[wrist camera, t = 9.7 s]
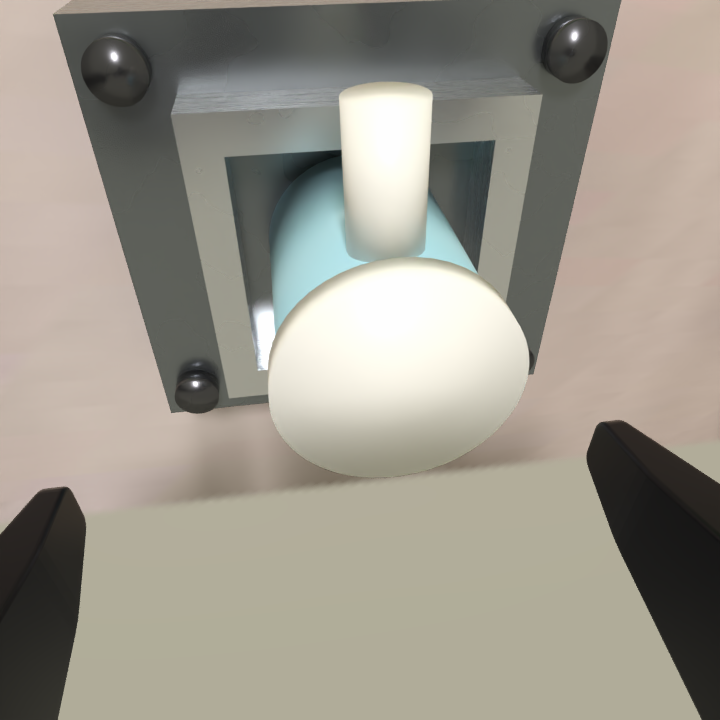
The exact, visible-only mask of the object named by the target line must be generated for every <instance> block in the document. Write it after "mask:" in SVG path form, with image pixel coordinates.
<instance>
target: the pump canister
mask: <svg viewBox="0 0 720 720" xmlns="http://www.w3.org/2000/svg"><path fill="white" fill-rule="evenodd" d="M432 100H433V94H432V92H431V91H430V90H429V89H427V88H425V87H423V86H420V85H416V84H411V83H404V82H373V83H366V84H360V85H356V86H353V87H350V88H347V89H345V90H344V91H342V92H341V93H340V95H339V108H340V129H341V149H342V156H338V157H334V158H331V159H328V160H325V161H323V162H321V163H318V164H316V165H315V166H313V167H311V168H310V169H308V170H306V171H305V172H304V173H303V174H301V175H300V176H299V177H297V178H296V179H295V180H294V181H293V182H292V183H291V184H290V185H289V187H288V188H287V189H286V191H285V192H284V193H283V195H282V196H281V198H280V200H279V201H278V203H277V205H276V207H275V210H274V213H273V215H272V219H271V223H270V230H269V246H270V263H271V279H272V295H273V311H274V328H275V337H274V340H273V342H272V345H271V349H270V353H269V357H268V368H267V373H268V396H269V408H270V412H271V416H272V419H273V422H274V424H275V426H276V428H277V430H278V432H279V434H280V435H281V437H282V438H283V439H284V441H285V442H286V443H287V444H288V445H289V446H290V447H291V448H292V449H293V450H294V451H295V452H296V453H298V454H299V455H300V456H302V457H303V458H304V459H306V460H308V461H309V462H311V463H313V464H315V465H317V466H319V467H322V468H324V469H326V470H329V471H332V472H336V473H339V474H344V475H349V476H355V477H366V478H387V477H398V476H404V475H410V474H415V473H419V472H423V471H426V470H430V469H433V468H435V467H438V466H441V465H444V464H446V463H448V462H450V461H453V460H455V459H457V458H459V457H461V456H462V455H464V454H466V453H468V452H470V451H471V450H472V449H474V448H475V447H477V446H478V445H480V444H481V443H483V442H484V441H485V440H486V439H487V438H489V437H490V436H491V435H492V434H493V433H494V432H495V431H496V430H497V429H498V428H499V427H500V426H501V425H502V424H503V423H504V422H505V421H506V419H507V418H508V417H509V416H510V414H511V413H512V412H513V410H514V408H515V407H516V405H517V403H518V402H519V400H520V398H521V395H522V393H523V391H524V388H525V385H526V381H527V378H528V371H529V350H528V346H527V342H526V338H525V336H524V334H523V331H522V329H521V327H520V325H519V324H518V322H517V320H516V319H515V317H514V315H513V314H512V312H511V310H510V309H509V307H508V305H507V304H506V302H505V301H504V299H503V298H502V296H501V295H500V293H499V292H498V291H497V290H496V289H495V288H494V287H493V286H492V285H491V284H490V283H489V282H488V281H486V280H485V279H483V278H482V277H481V276H479V275H478V273H477V271H476V269H475V268H474V266H473V264H472V262H471V261H470V259H469V257H468V255H467V254H466V252H465V250H464V248H463V247H462V245H461V243H460V241H459V240H458V238H457V236H456V234H455V233H454V231H453V229H452V227H451V226H450V224H449V222H448V220H447V219H446V217H445V215H444V213H443V212H442V210H441V208H440V206H439V205H438V203H437V201H436V199H435V198H434V196H433V194H432V192H431V191H430V189H429V188H428V182H429V162H430V141H431V120H432Z"/></svg>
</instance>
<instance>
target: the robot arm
mask: <svg viewBox="0 0 720 720" xmlns="http://www.w3.org/2000/svg"><path fill="white" fill-rule="evenodd" d="M587 465H588V467H589V471H590V473H591V476H592V479H593V482H594V484H595V487H596V490H597V493H598V496H599V498H600V501H601V504H602V507H603V510H604V512H605V515H606V518H607V521H608V523H609V526H610V529H611V532H612V534H613V537H614V539H615V542H616V544H617V546H618V548H619V551H620V553H621V555H622V557H623V559H624V561H625V563H626V565H627V567H628V569H629V571H630V573H631V575H632V577H633V579H634V582H635V583H636V586H637V588H638V590H639V592H640V594H641V596H642V598H643V600H644V602H645V604H646V606H647V608H648V610H649V612H650V614H651V616H652V619H653V621H654V622H655V625H656V627H657V629H658V631H659V633H660V635H661V637H662V639H663V641H664V643H665V645H666V647H667V649H668V651H669V653H670V655H671V657H672V660H673V662H674V664H675V666H676V668H677V670H678V672H679V674H680V676H681V678H682V680H683V682H684V684H685V686H686V688H687V690H688V692H689V694H690V696H691V699H692V701H693V703H694V705H695V707H696V708H697V711H698V713H699V715H700V717H701V719H702V720H720V484H719V483H718V482H716V481H715V480H713V479H711V478H710V477H708V476H707V475H705V474H704V473H702V472H701V471H699V470H698V469H696V468H695V467H693V466H692V465H690V464H689V463H687V462H686V461H684V460H683V459H681V458H679V457H678V456H677V455H675V454H673V453H672V452H670V451H669V450H667V449H666V448H664V447H663V446H661V445H660V444H658V443H657V442H655V441H654V440H652V439H651V438H649V437H648V436H646V435H645V434H643V433H642V432H640V431H639V430H637V429H636V428H634V427H633V426H631V425H629V424H628V423H626V422H624V421H622V420H614V421H605V422H601V423H599V424H598V425H597V426H596V428H595V431H594V434H593V437H592V440H591V442H590V445H589V448H588V451H587ZM85 536H86V522H85V517H84V515H83V513H82V511H81V509H80V507H79V505H78V503H77V501H76V499H75V497H74V495H73V493H72V491H71V490H70V489H69V488H68V487H55V488H47V489H43V490H41V491H39V492H38V493H37V494H36V495H35V496H34V497H33V498H32V499H31V500H30V501H29V503H28V504H27V505H26V506H25V507H24V508H23V509H22V510H21V512H20V513H19V514H18V515H17V516H16V517H15V518H14V519H13V521H12V522H11V523H10V524H9V525H8V526H7V527H6V528H5V530H4V531H3V532H2V533H1V534H0V720H58V715H59V710H60V706H61V701H62V696H63V691H64V686H65V682H66V677H67V672H68V667H69V662H70V658H71V653H72V648H73V643H74V638H75V633H76V628H77V622H78V614H79V605H80V593H81V581H82V569H83V558H84V547H85Z"/></svg>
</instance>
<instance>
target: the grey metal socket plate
mask: <svg viewBox="0 0 720 720" xmlns="http://www.w3.org/2000/svg"><path fill="white" fill-rule="evenodd" d="M620 4H621V0H72V1H70V2H69V3H68V4H66V5H65V6H64V7H62V8H61V9H60V10H58V11H57V12H55V13H54V14H53V16H54V19H55V23H56V26H57V30H58V33H59V36H60V40H61V43H62V46H63V50H64V53H65V56H66V60H67V63H68V67H69V70H70V73H71V77H72V80H73V83H74V87H75V90H76V93H77V97H78V100H79V104H80V107H81V110H82V114H83V117H84V120H85V124H86V127H87V130H88V134H89V137H90V141H91V144H92V147H93V151H94V154H95V157H96V161H97V164H98V168H99V171H100V174H101V178H102V181H103V184H104V188H105V191H106V194H107V198H108V201H109V205H110V208H111V211H112V215H113V218H114V221H115V225H116V228H117V231H118V235H119V238H120V242H121V245H122V248H123V252H124V255H125V258H126V262H127V265H128V268H129V272H130V275H131V279H132V282H133V285H134V289H135V292H136V295H137V299H138V302H139V306H140V309H141V312H142V316H143V319H144V322H145V326H146V329H147V332H148V336H149V339H150V343H151V346H152V349H153V353H154V356H155V359H156V363H157V366H158V369H159V373H160V376H161V380H162V383H163V386H164V390H165V393H166V396H167V400H168V403H169V406H170V410H171V413H175V412H184V411H187V412H190V413H205V412H208V411H210V410H212V409H213V408H222V407H231V406H241V405H250V404H259V403H269V396H268V373H267V368H268V357H269V353H270V349H271V345H272V342H273V340H274V337H275V328H274V311H273V295H272V279H271V263H270V246H269V230H270V223H271V219H272V215H273V213H274V210H275V207H276V205H277V203H278V201H279V200H280V198H281V196H282V195H283V193H284V192H285V191H286V189H287V188H288V187H289V185H290V184H291V183H292V182H293V181H294V180H295V179H296V178H297V177H299V176H300V175H301V174H303V173H304V172H305V171H306V170H308V169H310V168H311V167H313V166H315V165H316V164H318V163H321V162H323V161H325V160H328V159H331V158H334V157H338V156H342V149H341V129H340V108H339V95H340V93H341V92H342V91H344V90H345V89H347V88H350V87H353V86H356V85H360V84H366V83H373V82H404V83H411V84H416V85H420V86H423V87H425V88H427V89H429V90H430V91H431V92H432V94H433V100H432V120H431V141H430V162H429V182H428V188H429V189H430V191H431V192H432V194H433V196H434V198H435V199H436V201H437V203H438V205H439V206H440V208H441V210H442V212H443V213H444V215H445V217H446V219H447V220H448V222H449V224H450V226H451V227H452V229H453V231H454V233H455V234H456V236H457V238H458V240H459V241H460V243H461V245H462V247H463V248H464V250H465V252H466V254H467V255H468V257H469V259H470V261H471V262H472V264H473V266H474V268H475V269H476V271H477V273H478V275H479V276H481V277H482V278H483V279H485V280H486V281H488V282H489V283H490V284H491V285H492V286H493V287H494V288H495V289H496V290H497V291H498V292H499V293H500V295H501V296H502V298H503V299H504V301H505V302H506V304H507V305H508V307H509V309H510V310H511V312H512V314H513V315H514V317H515V319H516V320H517V322H518V324H519V325H520V327H521V329H522V331H523V334H524V336H525V338H526V342H527V346H528V350H529V371H528V375H530V374H533V373H534V369H535V365H536V361H537V356H538V352H539V348H540V344H541V339H542V335H543V331H544V327H545V322H546V318H547V314H548V310H549V305H550V301H551V297H552V293H553V288H554V284H555V280H556V276H557V271H558V267H559V263H560V259H561V254H562V250H563V246H564V242H565V237H566V233H567V229H568V225H569V220H570V216H571V212H572V208H573V203H574V199H575V195H576V191H577V186H578V182H579V178H580V174H581V169H582V165H583V161H584V157H585V152H586V148H587V144H588V140H589V135H590V131H591V127H592V123H593V118H594V114H595V110H596V106H597V101H598V97H599V93H600V89H601V84H602V80H603V76H604V72H605V67H606V63H607V59H608V55H609V50H610V46H611V42H612V38H613V33H614V29H615V25H616V21H617V16H618V12H619V8H620Z"/></svg>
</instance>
